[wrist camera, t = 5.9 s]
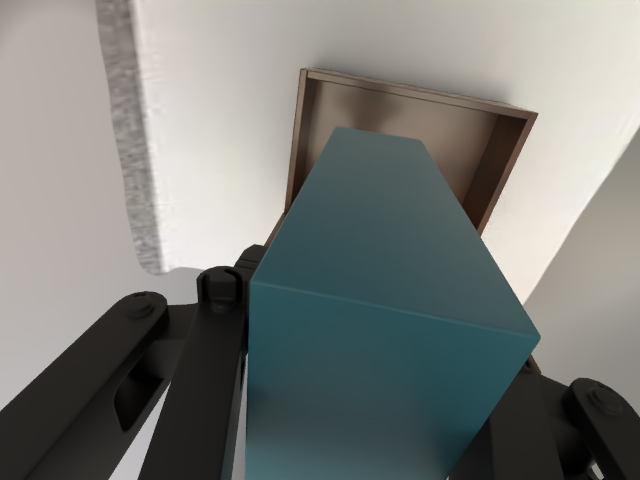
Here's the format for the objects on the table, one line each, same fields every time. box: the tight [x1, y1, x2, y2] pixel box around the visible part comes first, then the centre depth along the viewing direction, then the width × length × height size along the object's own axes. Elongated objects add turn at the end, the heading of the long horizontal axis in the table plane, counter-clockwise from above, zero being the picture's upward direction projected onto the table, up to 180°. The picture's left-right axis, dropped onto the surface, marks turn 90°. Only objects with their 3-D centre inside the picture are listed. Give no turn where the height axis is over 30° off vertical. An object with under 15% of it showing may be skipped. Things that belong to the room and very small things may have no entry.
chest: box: [284, 68, 538, 237], centre depth 32 cm, size 13×19×7 cm
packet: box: [245, 126, 541, 480], centre depth 13 cm, size 8×5×14 cm, turn 173°
